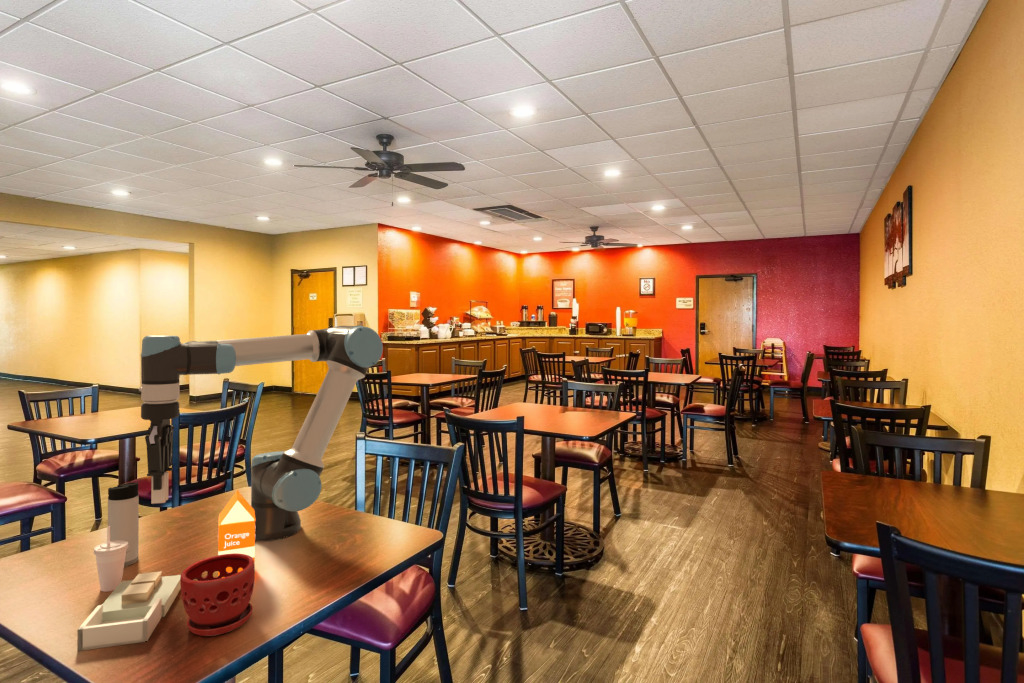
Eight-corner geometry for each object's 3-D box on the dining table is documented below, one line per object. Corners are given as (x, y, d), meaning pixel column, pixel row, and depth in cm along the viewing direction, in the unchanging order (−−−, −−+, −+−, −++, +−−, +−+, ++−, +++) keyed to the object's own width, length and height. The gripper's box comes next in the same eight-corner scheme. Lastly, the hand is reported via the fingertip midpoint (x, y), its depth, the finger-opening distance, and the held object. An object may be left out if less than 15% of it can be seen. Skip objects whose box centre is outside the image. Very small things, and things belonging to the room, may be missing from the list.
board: (182, 585, 124) (182, 574, 124) (164, 616, 111) (164, 604, 111) (121, 592, 120) (121, 581, 120) (95, 625, 107) (95, 613, 107)
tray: (161, 617, 111) (161, 597, 111) (147, 641, 102) (147, 620, 102) (97, 625, 107) (98, 605, 107) (77, 651, 99) (77, 629, 99)
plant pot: (233, 601, 118) (233, 546, 117) (267, 620, 110) (267, 562, 110) (167, 627, 107) (168, 568, 107) (200, 651, 100) (201, 587, 99)
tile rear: (161, 580, 121) (161, 571, 121) (155, 589, 117) (155, 580, 117) (138, 582, 120) (138, 573, 120) (131, 592, 116) (131, 582, 116)
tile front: (153, 591, 116) (153, 582, 116) (146, 601, 112) (147, 592, 112) (129, 594, 115) (129, 585, 115) (121, 604, 110) (121, 595, 110)
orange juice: (217, 589, 123) (218, 502, 122) (218, 573, 131) (218, 491, 130) (255, 582, 126) (256, 497, 126) (254, 567, 134) (254, 487, 134)
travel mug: (123, 569, 131) (123, 488, 131) (101, 566, 133) (101, 486, 132) (145, 558, 138) (146, 481, 137) (124, 556, 139) (124, 479, 138)
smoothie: (105, 581, 125) (105, 521, 125) (134, 580, 126) (134, 521, 126) (86, 595, 119) (86, 532, 119) (116, 594, 120) (117, 531, 119)
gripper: (151, 397, 132) (151, 493, 132) (130, 406, 118) (130, 512, 119) (186, 397, 134) (186, 491, 135) (169, 405, 120) (169, 510, 121)
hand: (159, 501), depth 127 cm, fingers closed
